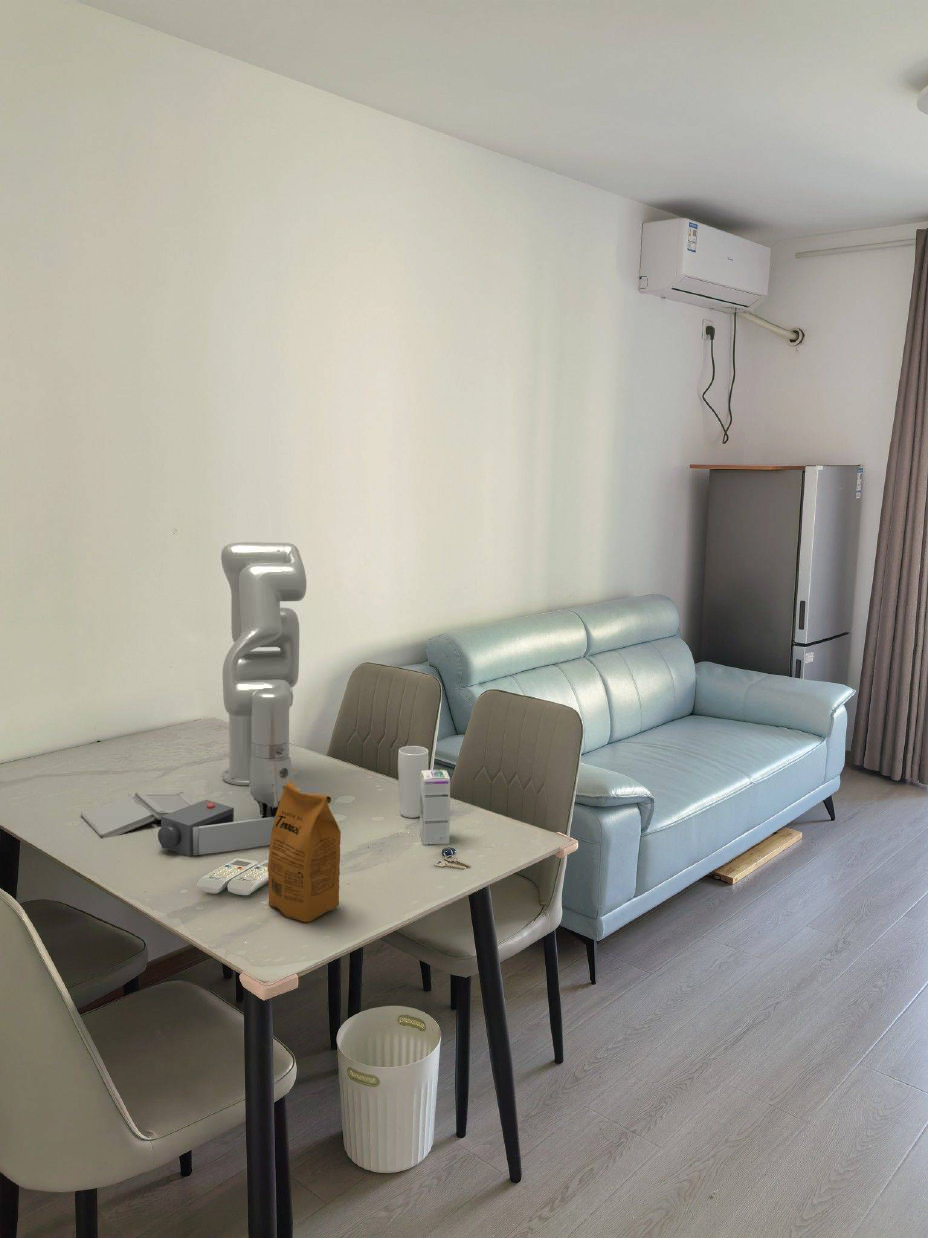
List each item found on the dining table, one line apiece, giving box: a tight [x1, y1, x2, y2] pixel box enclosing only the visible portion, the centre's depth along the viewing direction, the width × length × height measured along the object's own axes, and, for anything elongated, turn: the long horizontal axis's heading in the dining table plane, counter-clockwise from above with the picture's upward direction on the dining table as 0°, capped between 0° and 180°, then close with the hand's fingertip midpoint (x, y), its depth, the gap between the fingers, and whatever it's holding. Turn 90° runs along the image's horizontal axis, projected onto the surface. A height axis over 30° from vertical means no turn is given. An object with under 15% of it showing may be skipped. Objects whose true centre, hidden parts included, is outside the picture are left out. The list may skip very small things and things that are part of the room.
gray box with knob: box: [157, 799, 235, 857], centre depth 194 cm, size 14×8×7 cm, turn 148°
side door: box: [192, 817, 275, 856], centre depth 192 cm, size 20×2×6 cm, turn 115°
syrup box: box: [419, 769, 451, 846], centre depth 200 cm, size 6×6×14 cm
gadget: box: [80, 791, 197, 839], centre depth 208 cm, size 23×15×4 cm, turn 128°
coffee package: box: [267, 781, 342, 923], centre depth 167 cm, size 10×12×22 cm
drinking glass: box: [397, 745, 429, 819], centre depth 214 cm, size 7×7×15 cm
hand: (270, 833), depth 198 cm, fingers closed
